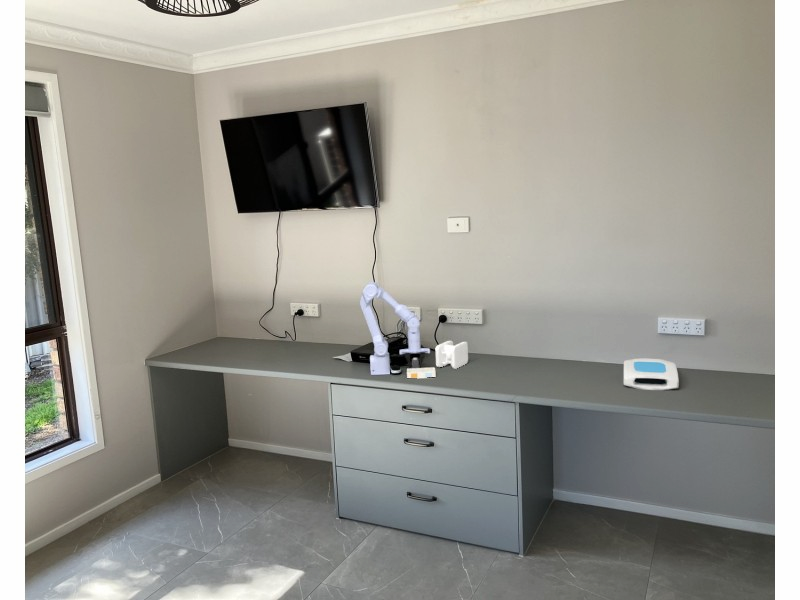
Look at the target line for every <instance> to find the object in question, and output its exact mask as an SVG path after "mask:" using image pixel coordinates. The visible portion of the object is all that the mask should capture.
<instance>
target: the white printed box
mask: <svg viewBox="0 0 800 600" xmlns="http://www.w3.org/2000/svg"><path fill="white" fill-rule="evenodd" d="M436 374H437V373H436V367H422V368H420V367H419V368H412V367H411V368H409V367H408V368H406V378H417V379H428V378H427V377H437V375H436Z"/></svg>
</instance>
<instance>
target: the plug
mask: <svg viewBox="0 0 800 600" xmlns="http://www.w3.org/2000/svg"><path fill="white" fill-rule="evenodd" d="M411 368H420V364H419V358H418V357H413V358H411Z"/></svg>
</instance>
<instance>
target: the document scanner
mask: <svg viewBox="0 0 800 600" xmlns="http://www.w3.org/2000/svg"><path fill="white" fill-rule="evenodd" d="M636 379H659V380H664V381H665V383H641V382H636V381H635V380H636ZM679 383H680V381H679V373H678V369H677V365H676V363H675V362H673V361H669V360H666V359H662V358H649V357H648V358H646V357H645V358H644V357H641V358H632V359H626V360H624V361H623V386H626V387H630V388H633V389H637V390H646V391H647V390H649V391H650V390H651V391H666V390H673V389H678V388H679V385H680V384H679Z"/></svg>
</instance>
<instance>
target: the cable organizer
mask: <svg viewBox="0 0 800 600" xmlns="http://www.w3.org/2000/svg"><path fill="white" fill-rule="evenodd" d="M468 345H469V343H468V341H462V342H459V343H458V344H457V343H456V344H455V345H454V342H453V341H452V340H447V341H444V342H441V343H440V344H437V345H436V346H435V348H434V349H435V350H434V351H435V366H436V367H437V368H440V367H442V368H444V367H445V366H447V365H449V364H450V367H452V369H454V370H458V369H460V368H461V367H464V366H465V364H466V365H467V364H468V362H469V348H468V347H469V346H468ZM463 365H464V366H463ZM443 366H444V367H443ZM459 367H460V368H459ZM457 368H458V369H457Z"/></svg>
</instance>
